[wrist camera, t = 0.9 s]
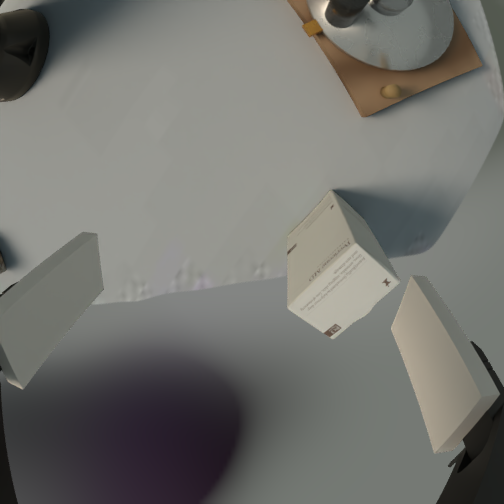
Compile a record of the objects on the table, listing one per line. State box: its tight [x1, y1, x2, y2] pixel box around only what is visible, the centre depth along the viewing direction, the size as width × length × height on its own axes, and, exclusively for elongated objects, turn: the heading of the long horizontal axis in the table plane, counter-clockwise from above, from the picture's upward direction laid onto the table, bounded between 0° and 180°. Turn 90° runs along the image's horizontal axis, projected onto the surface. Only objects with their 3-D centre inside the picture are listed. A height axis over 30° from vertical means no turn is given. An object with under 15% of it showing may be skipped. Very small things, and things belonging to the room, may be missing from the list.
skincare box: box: [287, 190, 401, 339], centre depth 31 cm, size 8×6×15 cm
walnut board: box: [287, 0, 482, 117], centre depth 24 cm, size 22×18×5 cm
